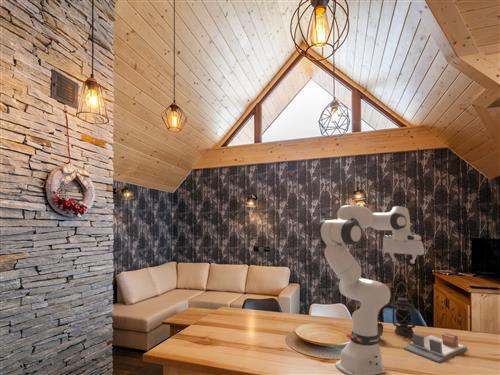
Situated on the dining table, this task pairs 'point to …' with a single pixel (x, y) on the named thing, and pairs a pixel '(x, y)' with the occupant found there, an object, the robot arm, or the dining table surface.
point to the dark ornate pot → (380, 329)
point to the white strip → (442, 348)
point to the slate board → (431, 353)
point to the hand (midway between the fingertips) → (403, 262)
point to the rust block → (450, 340)
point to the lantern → (403, 317)
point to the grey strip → (423, 341)
